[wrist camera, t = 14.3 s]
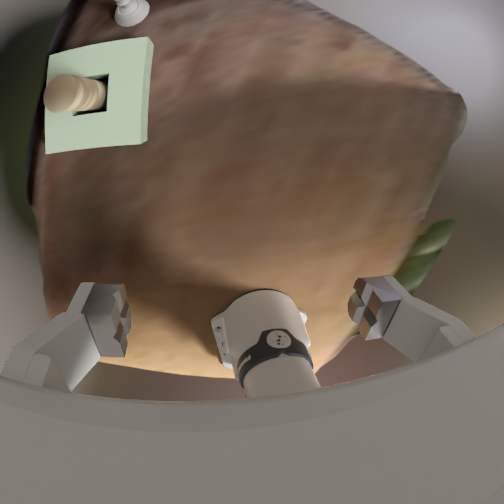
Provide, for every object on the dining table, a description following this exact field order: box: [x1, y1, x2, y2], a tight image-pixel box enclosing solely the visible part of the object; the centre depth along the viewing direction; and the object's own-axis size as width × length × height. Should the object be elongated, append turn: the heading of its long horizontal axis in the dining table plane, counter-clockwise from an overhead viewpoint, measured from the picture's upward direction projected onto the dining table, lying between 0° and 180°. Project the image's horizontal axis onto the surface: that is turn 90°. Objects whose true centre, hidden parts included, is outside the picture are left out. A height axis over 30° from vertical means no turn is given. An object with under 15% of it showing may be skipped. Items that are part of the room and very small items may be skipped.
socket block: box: [45, 37, 154, 154], centre depth 26 cm, size 14×14×4 cm
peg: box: [44, 74, 108, 113], centre depth 23 cm, size 4×4×13 cm
